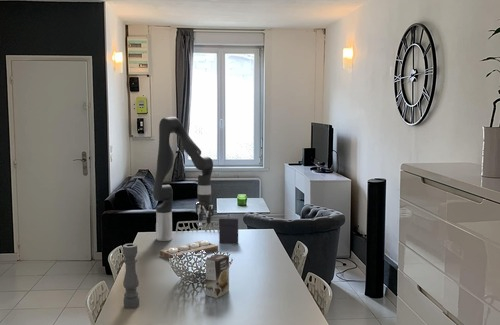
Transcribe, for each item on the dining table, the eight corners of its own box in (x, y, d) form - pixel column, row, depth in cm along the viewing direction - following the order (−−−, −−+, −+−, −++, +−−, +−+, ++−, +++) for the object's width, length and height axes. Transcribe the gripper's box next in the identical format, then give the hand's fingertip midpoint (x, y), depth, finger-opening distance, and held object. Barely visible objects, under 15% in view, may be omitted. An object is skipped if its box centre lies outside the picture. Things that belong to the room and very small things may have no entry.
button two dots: (167, 253, 261) (166, 248, 261) (174, 251, 265) (174, 247, 264) (172, 255, 258) (171, 250, 258) (179, 253, 261) (179, 249, 261)
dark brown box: (238, 242, 290) (238, 217, 289) (237, 244, 286) (237, 219, 284) (220, 241, 291) (220, 217, 290) (219, 243, 287) (218, 218, 285)
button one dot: (198, 246, 276) (198, 241, 275) (205, 244, 279) (205, 240, 278) (203, 248, 272) (203, 243, 272) (210, 246, 275) (210, 241, 275)
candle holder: (125, 302, 200) (123, 243, 197) (140, 302, 201) (139, 243, 198) (122, 309, 194) (120, 247, 191) (138, 308, 195) (136, 247, 192)
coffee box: (217, 298, 205) (217, 261, 203) (205, 295, 209) (204, 258, 207) (229, 291, 213) (229, 255, 211) (217, 288, 216) (217, 253, 214)
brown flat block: (159, 255, 264) (159, 250, 264) (202, 245, 283) (202, 240, 283) (174, 261, 254) (174, 256, 253) (218, 250, 273) (218, 245, 273)
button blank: (177, 251, 266) (177, 246, 266) (185, 249, 269) (185, 244, 269) (183, 253, 263) (182, 248, 262) (190, 251, 266) (190, 246, 266)
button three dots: (188, 248, 271) (188, 243, 271) (195, 246, 274) (195, 242, 274) (193, 250, 267) (193, 245, 267) (200, 248, 271) (200, 244, 270)
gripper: (191, 192, 275) (191, 220, 277) (206, 195, 264) (207, 225, 266) (202, 190, 280) (202, 218, 282) (217, 193, 269) (217, 223, 271)
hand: (204, 222), depth 274 cm, fingers open, 7 cm apart
